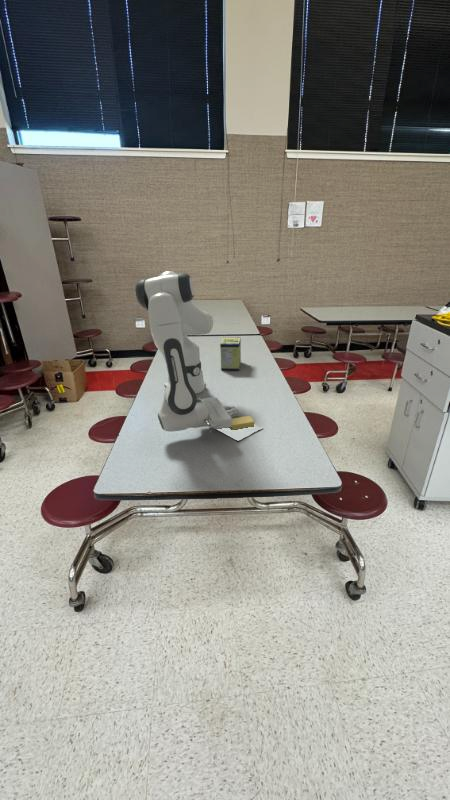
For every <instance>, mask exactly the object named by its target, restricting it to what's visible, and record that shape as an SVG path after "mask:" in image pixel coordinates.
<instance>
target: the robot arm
mask: <svg viewBox="0 0 450 800" xmlns="http://www.w3.org/2000/svg"><path fill="white" fill-rule="evenodd" d="M195 291H196V290H195V283H194V281H193V278H191V276H190V275H189V274H188V273H185V272H184V273H183V272H178V273H176V272H175V271H172V270H166V271H164V272H162V273H160V275H157V276H154V277H150V278H148V279H146V278H145V279H141V280H139V281H138V282H137V284H136V285H135V298H136V300H137V302H138V304H139V305H140V307H142V308H143V309H145V310H147V312H148V322H149V323H148V324H149V329H150V334H151V336H152V340H153V342H154V345H155V347H156V349H158V351H159V352H160V354H161V355H162V357H163V358H164V361H165V364H166V370H167V374H168V379H167V381H165V382H164V383H163V385H165V386H166V387H165V386H164V387H165V389H164V394H163V398H162V399H163V400H162V403H161V406H160V409H159V410H158V412H157V418H158V422H159V424H160V427H161V429H162V430H163V431H164V432H167V433H168V432H169V433H170V432H171V433H172V432H180V431H181V432H182V431H185V430H187V429H197V428H203V427H207V428H208V427H209V428H211V429H213V428H214V429H213V430H215V429H222V428H230V427H231V426H232V415H233V414H237V413H238V409H237V408H236V406H235V405H232V406H231V405H229V406H228V405H223V404H222V402H221V401H220V400H219V398H218V397H206V398H205V397H204V398H198V397H197V394H199V393H202V392H203V391H204V390H205V389H206V388H205V386H206V382H205V379H204V374H203V373H204V372H203V369H202V363H201V362H202V361H201V358H200V357H201V356H200V346H199V345H198V344H197V343H196V342H195V341H193V340H191V339H190V338H189V336H202V335H208V334H209V333H211V332H212V330H213V328H214V318H213V315H211V313H210V312H208V311H205V310H203V309H201V308H199V307H198V306H197V305H196V304H194V303H193V301H192V300H193V298H194V297H195Z"/></svg>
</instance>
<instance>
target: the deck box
mask: <svg viewBox="0 0 450 800" xmlns="http://www.w3.org/2000/svg"><path fill="white" fill-rule="evenodd" d="M254 424H255V420H254V419H253V417H252V416H250V415H246V416H239V418H233V419H232V426H231V427H230V429H231V430H238V429H243V428H248V427H254Z"/></svg>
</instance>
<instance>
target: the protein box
mask: <svg viewBox="0 0 450 800" xmlns="http://www.w3.org/2000/svg"><path fill="white" fill-rule="evenodd" d="M241 341H242V339H241V336H223V337H222V339H221V342H220V345H219V346H220V371H221V372H222V371H223V372H225V371H226V372H229V371H230V372H240V368H241V363H242V360H241V359H242V358H241V357H242V356H241V354H242V352H241V350H242V347H241V346H242V343H241Z"/></svg>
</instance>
